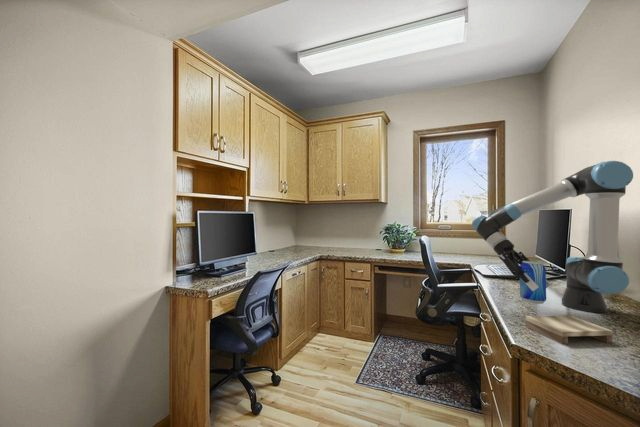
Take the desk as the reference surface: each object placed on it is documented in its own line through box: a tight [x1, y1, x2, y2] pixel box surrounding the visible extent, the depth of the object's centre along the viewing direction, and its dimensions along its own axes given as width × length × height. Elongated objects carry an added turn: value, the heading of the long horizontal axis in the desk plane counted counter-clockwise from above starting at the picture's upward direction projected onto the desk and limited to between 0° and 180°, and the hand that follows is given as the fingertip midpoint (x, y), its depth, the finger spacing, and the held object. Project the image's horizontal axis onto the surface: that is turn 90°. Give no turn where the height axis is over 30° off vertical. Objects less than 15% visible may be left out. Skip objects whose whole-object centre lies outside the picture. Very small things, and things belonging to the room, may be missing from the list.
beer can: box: [519, 260, 547, 305], centre depth 111 cm, size 8×8×16 cm
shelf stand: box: [525, 314, 613, 345], centre depth 95 cm, size 18×14×4 cm
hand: (542, 287), depth 108 cm, fingers closed on beer can, 8 cm apart
